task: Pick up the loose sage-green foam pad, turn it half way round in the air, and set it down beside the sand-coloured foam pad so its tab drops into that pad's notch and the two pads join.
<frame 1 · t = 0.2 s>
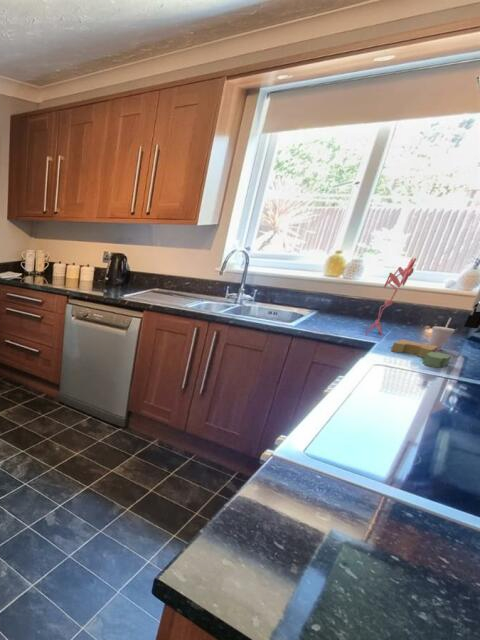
hand: (473, 326, 144), 16 cm above the countertop, tool pointing down, fingers open, 9 cm apart
smoothie: (432, 351, 175), on the countertop
figurine: (384, 335, 199), on the countertop
sand pad: (412, 352, 171), on the countertop
green pad: (434, 363, 158), on the countertop
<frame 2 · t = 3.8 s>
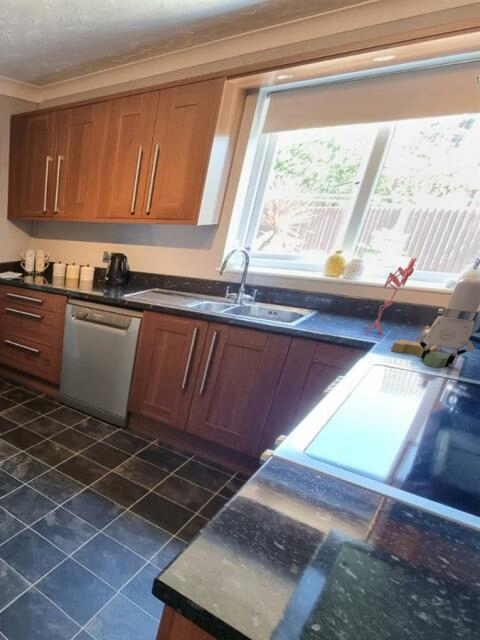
hand: (435, 362, 157), 1 cm above the countertop, tool pointing down, fingers closed on green pad, 5 cm apart
green pad: (434, 363, 158), on the countertop, touching gripper
everything else where it was.
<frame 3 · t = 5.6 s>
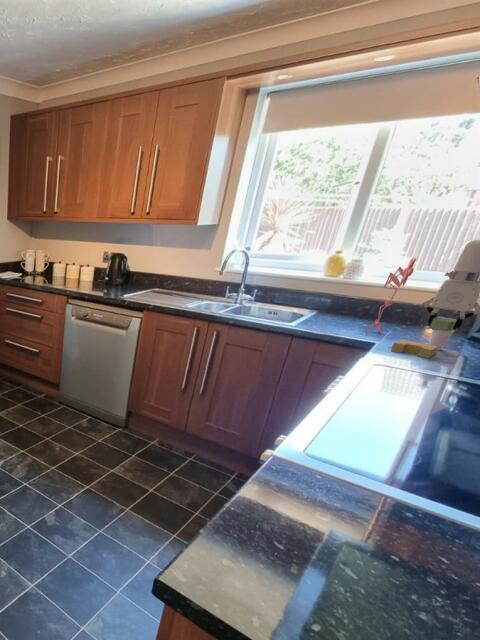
hand: (442, 327, 155), 13 cm above the countertop, tool pointing down, fingers closed on green pad, 5 cm apart
green pad: (441, 328, 155), point 13 cm above the countertop, touching gripper
everything else where it was.
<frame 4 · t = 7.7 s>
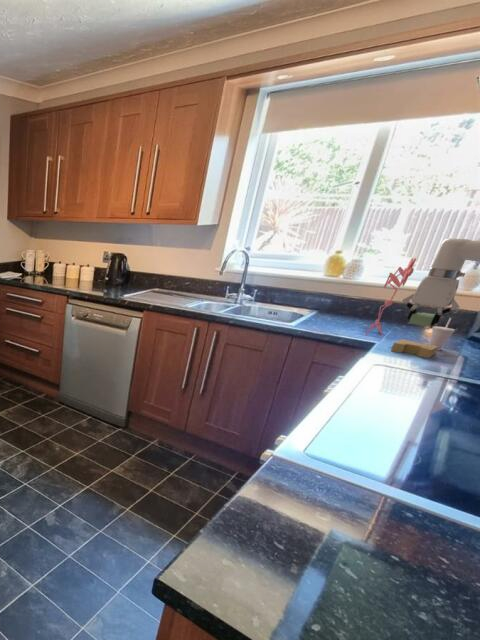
hand: (421, 322, 161), 13 cm above the countertop, tool pointing down, fingers closed on green pad, 5 cm apart
green pad: (420, 323, 161), point 13 cm above the countertop, touching gripper
everything else where it was.
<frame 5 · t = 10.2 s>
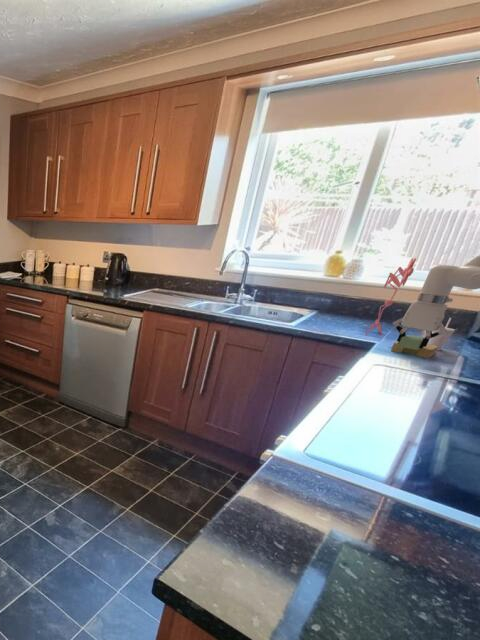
hand: (410, 345, 164), 4 cm above the countertop, tool pointing down, fingers closed on green pad, 5 cm apart
green pad: (409, 346, 164), point 4 cm above the countertop, touching gripper
everything else where it was.
when the fingers open (0 cm above the countertop, at t = 11.8 s): green pad stays where it is, on the countertop.
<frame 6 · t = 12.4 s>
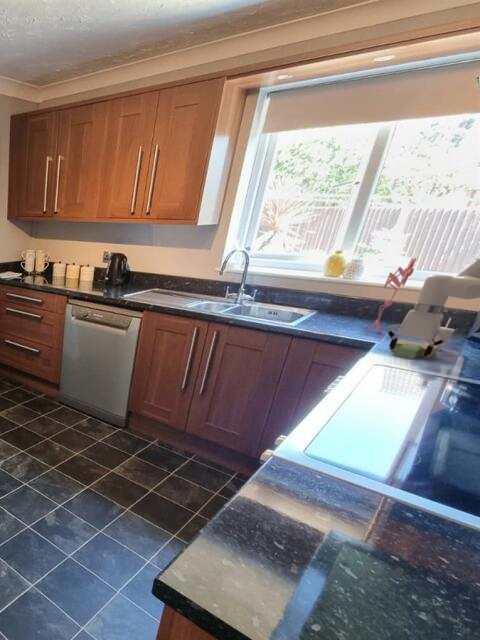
hand: (408, 352, 165), 2 cm above the countertop, tool pointing down, fingers open, 9 cm apart
green pad: (405, 356, 166), on the countertop
everything else where it was.
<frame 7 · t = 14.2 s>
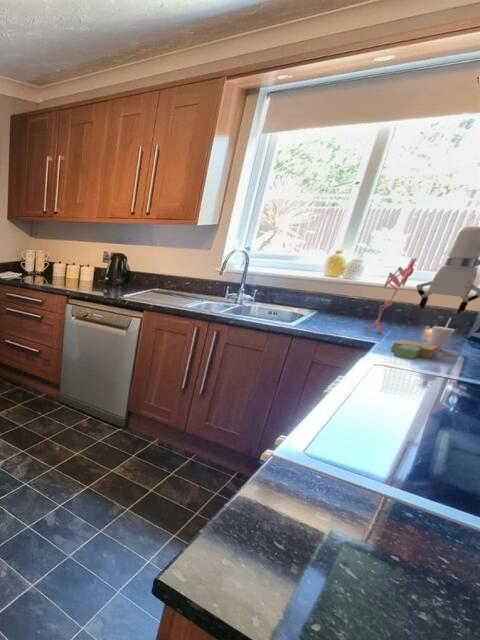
hand: (439, 310, 158), 18 cm above the countertop, tool pointing down, fingers open, 9 cm apart
nothing on the countertop moved.
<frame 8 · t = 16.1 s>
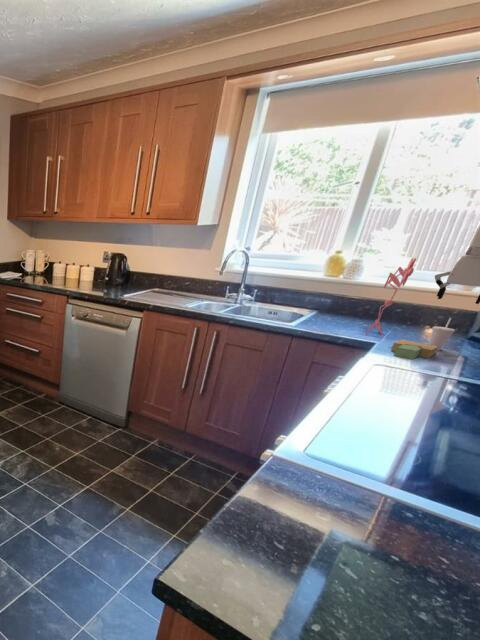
hand: (457, 301, 156), 22 cm above the countertop, tool pointing down, fingers open, 9 cm apart
nothing on the countertop moved.
at the end: green pad 0.1 cm from the target spot on the countertop beside the sand pad, on the countertop; green pad tilted 0°; the gripper is holding nothing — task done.
